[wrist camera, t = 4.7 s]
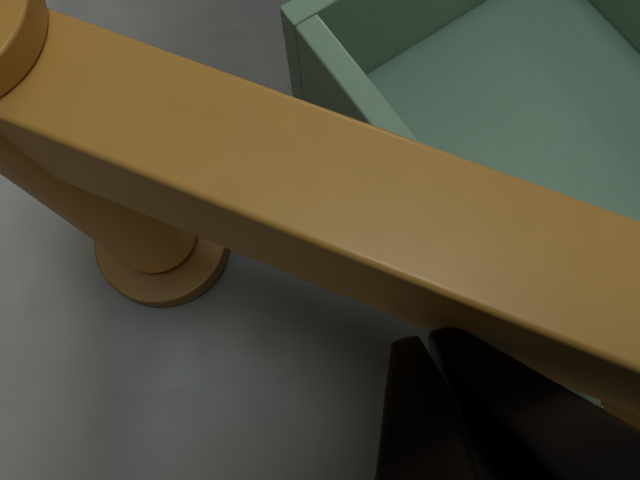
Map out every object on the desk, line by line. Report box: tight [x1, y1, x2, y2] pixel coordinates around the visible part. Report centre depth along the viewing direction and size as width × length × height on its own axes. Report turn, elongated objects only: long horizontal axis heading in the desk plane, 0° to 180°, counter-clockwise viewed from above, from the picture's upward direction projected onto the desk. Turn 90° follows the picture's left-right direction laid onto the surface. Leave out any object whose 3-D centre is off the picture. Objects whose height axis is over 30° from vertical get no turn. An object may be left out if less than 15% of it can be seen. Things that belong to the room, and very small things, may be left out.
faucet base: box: [95, 236, 230, 307], centre depth 18 cm, size 4×4×1 cm
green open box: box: [280, 0, 640, 406], centre depth 16 cm, size 12×11×5 cm
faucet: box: [0, 0, 640, 430], centre depth 12 cm, size 16×3×11 cm, turn 67°
